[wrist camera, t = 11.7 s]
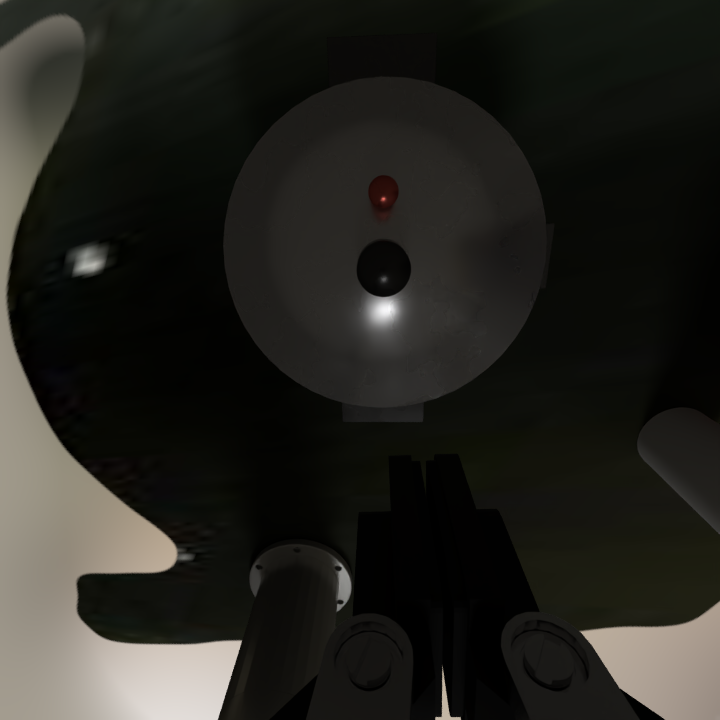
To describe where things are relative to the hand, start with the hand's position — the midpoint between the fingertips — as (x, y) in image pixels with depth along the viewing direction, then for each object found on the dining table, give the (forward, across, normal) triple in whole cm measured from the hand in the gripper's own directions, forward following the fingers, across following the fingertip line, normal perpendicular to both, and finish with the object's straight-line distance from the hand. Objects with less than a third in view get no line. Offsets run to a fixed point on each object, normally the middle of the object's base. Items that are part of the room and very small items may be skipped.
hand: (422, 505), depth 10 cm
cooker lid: (+18, +1, -4) cm, 18 cm away
